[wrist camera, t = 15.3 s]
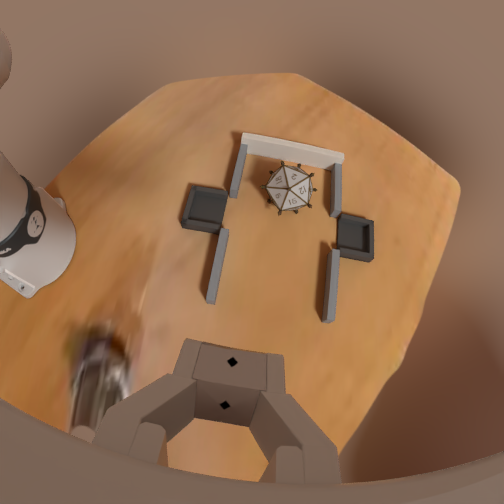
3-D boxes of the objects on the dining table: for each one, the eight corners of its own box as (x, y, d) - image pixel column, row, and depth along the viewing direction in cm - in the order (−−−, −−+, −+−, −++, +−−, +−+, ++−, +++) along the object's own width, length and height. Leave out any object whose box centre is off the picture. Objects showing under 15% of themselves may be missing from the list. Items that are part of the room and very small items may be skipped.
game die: (271, 206, 55) (255, 156, 49) (317, 195, 53) (305, 143, 47) (273, 235, 48) (254, 180, 42) (326, 223, 46) (313, 165, 40)
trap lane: (165, 294, 44) (160, 287, 40) (208, 141, 55) (208, 127, 51) (366, 327, 45) (377, 323, 41) (367, 174, 56) (375, 162, 52)
